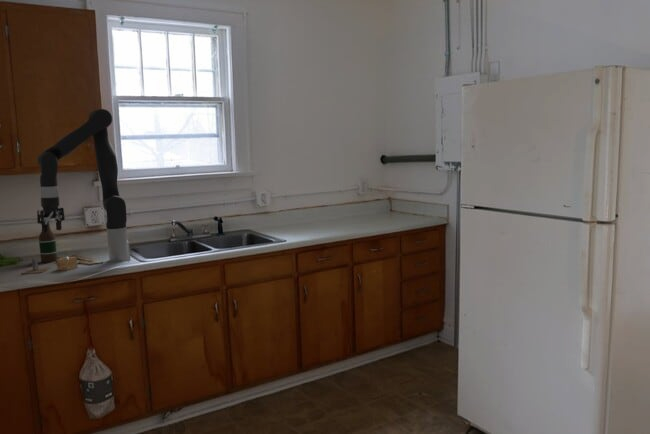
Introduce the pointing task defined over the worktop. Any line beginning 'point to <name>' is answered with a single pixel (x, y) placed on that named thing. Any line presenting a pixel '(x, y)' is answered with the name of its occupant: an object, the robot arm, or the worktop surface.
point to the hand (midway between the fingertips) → (52, 231)
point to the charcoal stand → (70, 269)
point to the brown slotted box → (66, 263)
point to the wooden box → (35, 268)
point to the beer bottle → (47, 246)
